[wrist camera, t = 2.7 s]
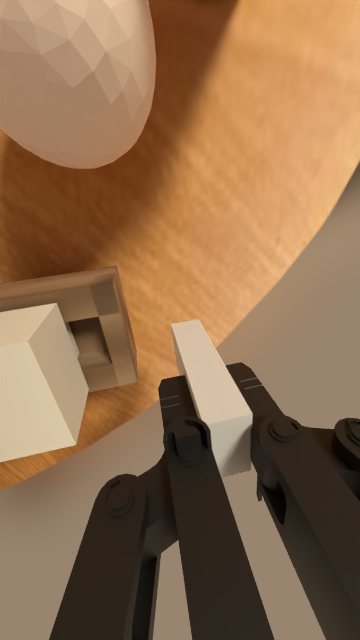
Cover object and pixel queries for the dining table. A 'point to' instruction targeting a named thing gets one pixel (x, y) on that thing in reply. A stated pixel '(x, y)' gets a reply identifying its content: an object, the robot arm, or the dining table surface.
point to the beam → (86, 320)
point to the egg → (76, 77)
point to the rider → (38, 383)
